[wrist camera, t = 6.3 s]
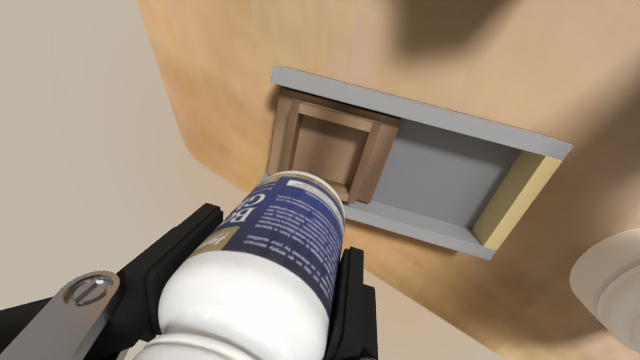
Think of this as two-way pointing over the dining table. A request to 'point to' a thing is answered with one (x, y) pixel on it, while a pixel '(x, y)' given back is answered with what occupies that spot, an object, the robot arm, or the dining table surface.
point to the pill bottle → (258, 279)
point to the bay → (444, 169)
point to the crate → (332, 142)
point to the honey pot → (612, 285)
